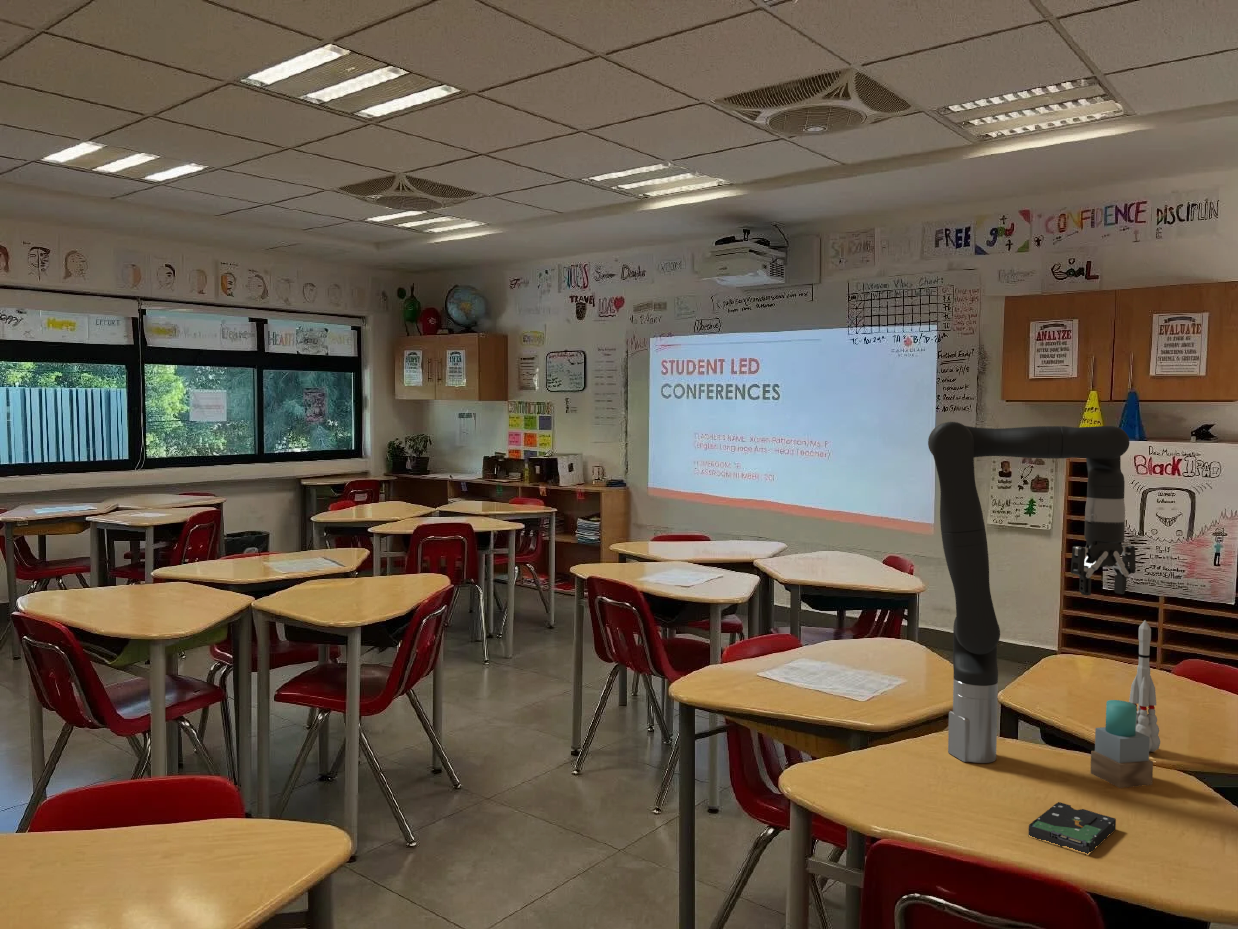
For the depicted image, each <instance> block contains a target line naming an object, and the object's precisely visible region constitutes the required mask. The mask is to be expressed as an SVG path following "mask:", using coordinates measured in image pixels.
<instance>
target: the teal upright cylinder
mask: <svg viewBox="0 0 1238 929" xmlns="http://www.w3.org/2000/svg"><path fill="white" fill-rule="evenodd" d="M1136 709H1137V710H1138V705H1137V706H1136V705H1135V704H1133V703H1130V702H1129V701H1125V700H1119V699H1108V700H1107V701H1106V707H1105V710H1106V711H1105V727H1106V728H1105V730H1106V732H1108V733H1110V734H1113V735H1117V736H1123V737H1132V736H1135V734H1136Z"/></svg>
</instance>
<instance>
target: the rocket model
mask: <svg viewBox="0 0 1238 929" xmlns="http://www.w3.org/2000/svg"><path fill="white" fill-rule="evenodd" d="M1151 640H1152V628H1151V627H1150V625H1149V623H1148V622H1147V620H1146V619H1145V620H1143V622H1142V623H1141V624H1140V625H1139V627H1138V642H1139V643H1138V644H1139V645H1138V665H1137V667H1136V670H1137V671H1136V675H1135V677H1134V679H1133V681H1132V683H1131V686H1130V693H1129V699H1128V700H1129V701H1128V702H1130V703H1133V704H1135V705H1136V706H1137V709H1136V731H1137V732H1139V733H1141V734H1144V735H1146V736H1148V737H1150V739H1149V753H1151V752H1153V753H1154V752H1156V751H1157V750H1159V749H1160V745H1161V739H1160V735H1159V732H1160V728H1159V727H1160V726H1159V725H1158V724H1157V722H1158V718H1157V715H1156V709H1155V706H1157V694H1156V686H1155V684H1154V681H1153V678H1152V676H1151V667H1150V650H1151V649H1150V647H1151ZM1147 707H1148V708H1147Z"/></svg>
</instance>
